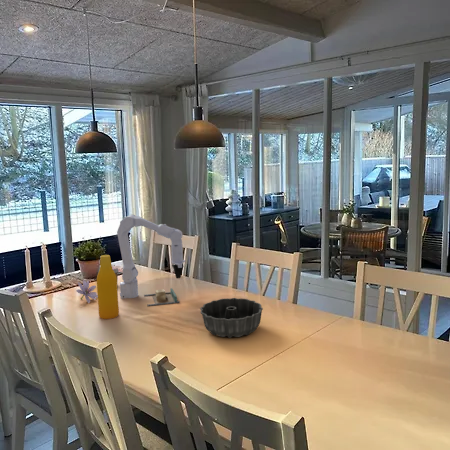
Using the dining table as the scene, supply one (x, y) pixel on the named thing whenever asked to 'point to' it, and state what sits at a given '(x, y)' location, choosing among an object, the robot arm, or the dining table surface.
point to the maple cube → (160, 295)
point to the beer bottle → (107, 289)
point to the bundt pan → (231, 317)
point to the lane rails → (161, 303)
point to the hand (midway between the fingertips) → (178, 278)
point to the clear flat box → (167, 297)
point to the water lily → (87, 291)
